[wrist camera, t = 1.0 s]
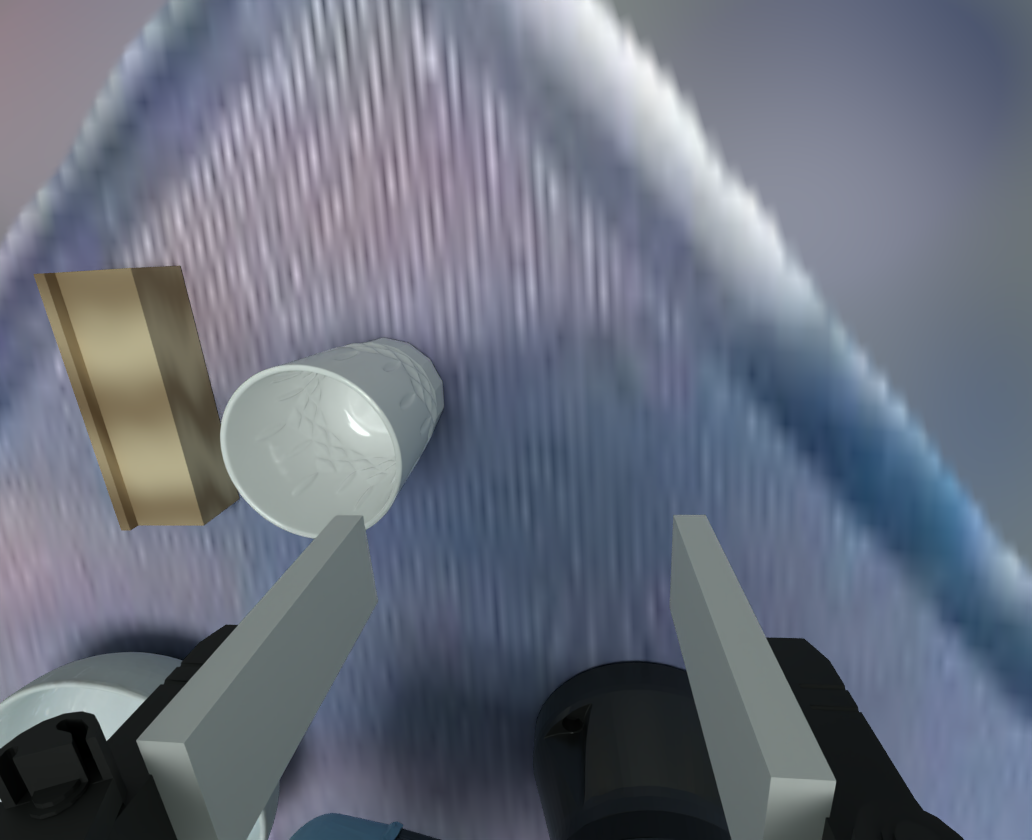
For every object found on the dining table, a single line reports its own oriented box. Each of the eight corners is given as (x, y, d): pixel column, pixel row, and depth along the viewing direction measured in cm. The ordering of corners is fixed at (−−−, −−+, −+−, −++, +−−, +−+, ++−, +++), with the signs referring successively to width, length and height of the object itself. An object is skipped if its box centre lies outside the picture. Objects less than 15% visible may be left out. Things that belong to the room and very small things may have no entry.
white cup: (478, 423, 31) (435, 501, 21) (370, 472, 33) (288, 563, 23) (412, 303, 29) (334, 331, 19) (302, 362, 31) (182, 414, 21)
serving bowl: (341, 807, 43) (300, 905, 37) (128, 809, 46) (56, 900, 40) (264, 603, 37) (198, 678, 31) (24, 621, 40) (-81, 693, 34)
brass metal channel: (239, 498, 34) (197, 530, 30) (171, 499, 35) (121, 530, 31) (180, 265, 30) (120, 268, 26) (102, 270, 30) (33, 274, 26)
